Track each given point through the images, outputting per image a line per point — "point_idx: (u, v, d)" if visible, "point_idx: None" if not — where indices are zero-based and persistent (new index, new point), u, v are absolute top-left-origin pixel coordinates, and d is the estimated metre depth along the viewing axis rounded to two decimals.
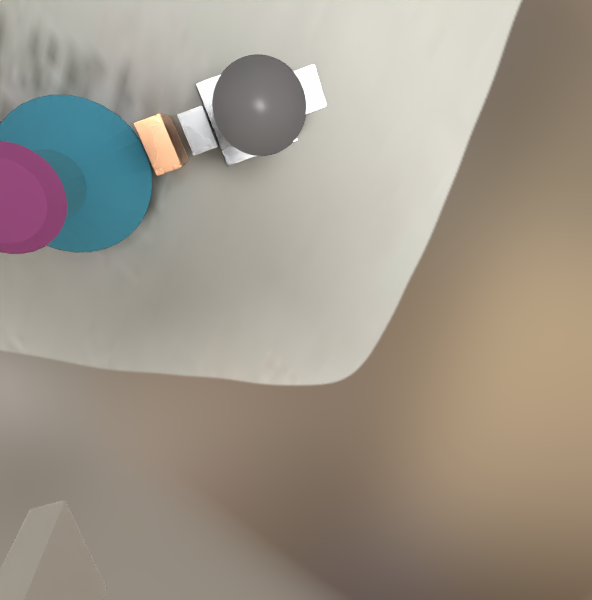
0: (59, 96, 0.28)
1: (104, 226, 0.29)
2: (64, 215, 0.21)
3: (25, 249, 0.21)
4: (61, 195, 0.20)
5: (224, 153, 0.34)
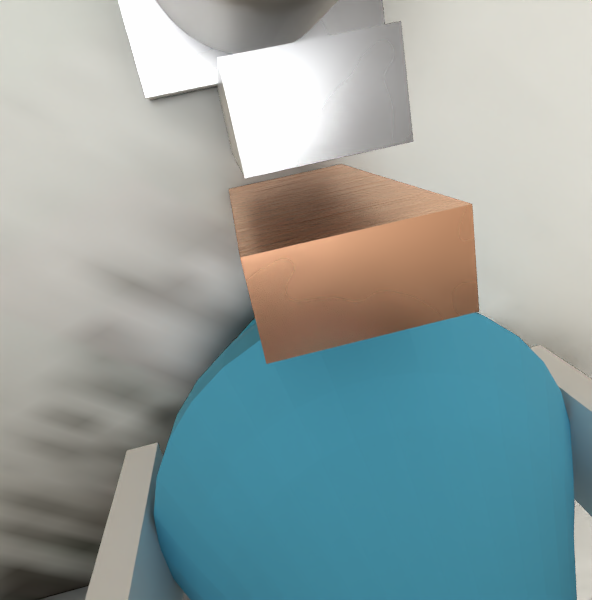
0: (158, 504, 0.10)
1: (567, 489, 0.09)
2: None
3: None
4: None
5: None
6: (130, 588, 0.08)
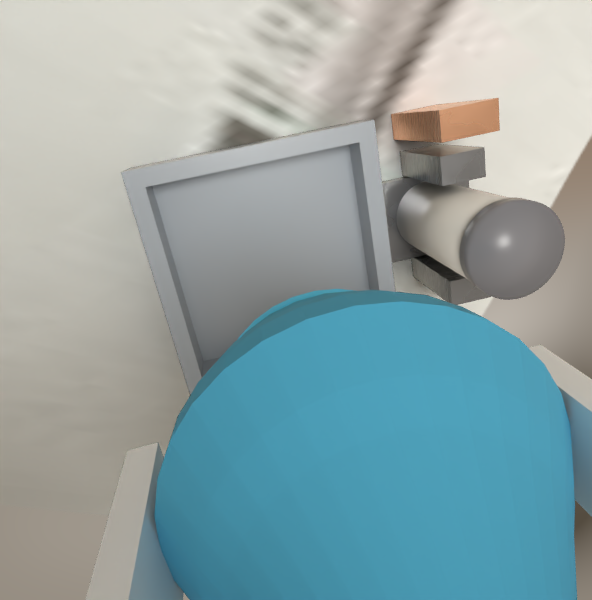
0: (159, 506, 0.10)
1: (567, 491, 0.09)
2: None
3: None
4: None
5: None
6: (130, 588, 0.08)
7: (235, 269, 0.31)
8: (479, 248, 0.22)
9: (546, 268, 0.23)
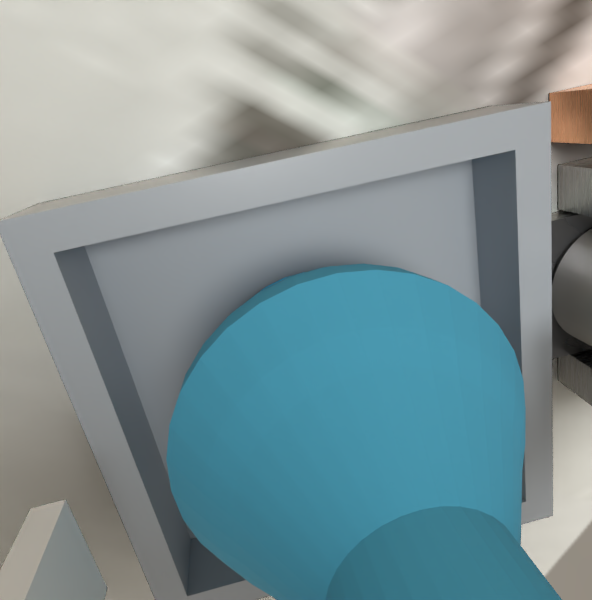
0: (171, 449, 0.11)
1: (515, 425, 0.10)
2: None
3: None
4: None
5: None
6: None
7: None
8: None
9: None
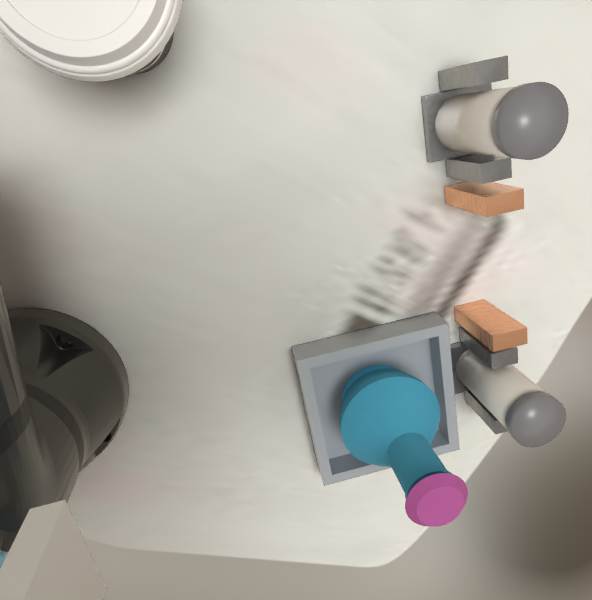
0: (343, 421, 0.42)
1: (432, 417, 0.41)
2: (453, 475, 0.34)
3: (466, 498, 0.34)
4: (443, 476, 0.33)
5: None
6: None
7: None
8: (517, 422, 0.38)
9: (555, 430, 0.39)
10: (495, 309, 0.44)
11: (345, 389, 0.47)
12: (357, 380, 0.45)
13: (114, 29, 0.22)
